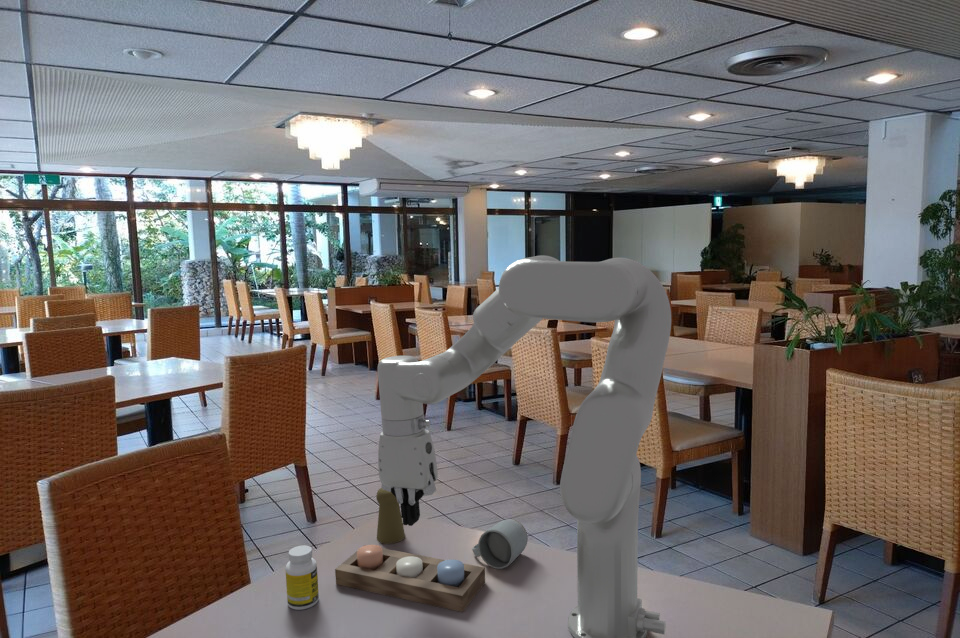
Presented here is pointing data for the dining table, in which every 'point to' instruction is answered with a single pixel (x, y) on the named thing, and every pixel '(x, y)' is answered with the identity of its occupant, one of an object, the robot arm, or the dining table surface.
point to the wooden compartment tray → (412, 581)
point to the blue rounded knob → (450, 572)
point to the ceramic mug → (502, 543)
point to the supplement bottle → (301, 578)
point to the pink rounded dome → (370, 556)
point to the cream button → (409, 567)
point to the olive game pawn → (389, 518)
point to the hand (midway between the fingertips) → (411, 522)
